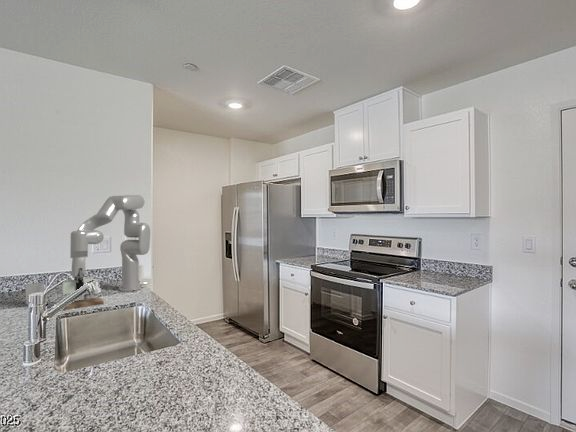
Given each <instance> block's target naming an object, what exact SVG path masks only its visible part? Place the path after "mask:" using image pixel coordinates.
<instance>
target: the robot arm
mask: <svg viewBox="0 0 576 432" xmlns="http://www.w3.org/2000/svg"><path fill="white" fill-rule="evenodd" d="M144 206H145V198H144V197H143V196H142V195H141V194H140V195H139V194H135V195H134V194H133V195H132V194H128V195H127V194H126V195H125V194H123V195H112V196H108V198H107V199H106V200H105V202H104V203H103V204H102V206H101V208H100V209H99V210H98V212H97V213H95V214H94V215H92V216H91V217H89V218H88V219H86V220H85V221H84V222H83V223H81V225H79V227H78V229H77V230H73V231H72V232H71V233H70V247H69V248H70V256H69V257H70V259H71V272H70V274H71V277H72V278H73V280H77V283H76V290H77V289H79V288H80V287H81V286H83V285H84V281H83V279H84V277H85V276H86V258H88V256H89V255H88V254H89V250H88V249H89V248H88V246H89V245H97V244H100V243H102V242H103V240H104V237H105V236H104V234H103V232H101V231H100V230H95V229H98V228H99V227H102V226H105V225H107V224H110V223H112V222H113V220H114V218H115V217H116V215H117V214H118V212H119V211H122V212H123V214H124V223H123V225H124V228H123V235H124V236H125V237H127V238H133V239H127V240H126V239H125V240H124V241H122V242H121V243H120V247H119V248H120V253H121V269H122V270H121V279H122V280H121V287H119V291H120V292H133V290H134V291H137V290H138V289H139V290H141V289H142V286H144V285H145V286H146V285H147V283H148V282H147V281H139V278H140V275H139V274H140V273H139V272H140V270H139V269H140V267H139V265H140V262H139V258H138V256H141V255H143V256H144V255H146V254H148V253H149V250H150V244H151V227H150V225H149V224H147V223H146V222H140V214H139V211H138V210H139V209H141V208H143V207H144ZM137 209H138V210H137ZM137 238H138V239H137ZM140 288H141V289H140Z"/></svg>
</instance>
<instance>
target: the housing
mask: <svg viewBox="0 0 576 432" xmlns="http://www.w3.org/2000/svg"><path fill="white" fill-rule="evenodd" d="M92 280H95V281H96V279H95V278H92V277H91V278H83V281H84V284H85V283H87V282H89V281H92ZM76 283H77V280H74V279H73V280H72V279H71V280H64V282H63V283H62V284H61V285H60V286H61V288H60V289H61V291H60V292H61V294H63V295H66V294H74V293H73V292H74V291H76Z"/></svg>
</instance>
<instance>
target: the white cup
mask: <svg viewBox="0 0 576 432" xmlns="http://www.w3.org/2000/svg"><path fill="white" fill-rule="evenodd" d="M24 287H25V303H26V305H28V295H29V294H30V293H35V292H42V291H45V283H43V282H39V283H38V282H37V283H29V284H25V286H24ZM28 306H29V305H28Z"/></svg>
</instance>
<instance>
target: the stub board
mask: <svg viewBox="0 0 576 432" xmlns="http://www.w3.org/2000/svg"><path fill="white" fill-rule="evenodd" d="M90 295H91V294H90V293H85V294H84V296H83V298H84V299H83V298H82V299H77V300H75V299H74V302H72V303H71V304H69V305H68V306H66V307H65V308H64V309H63V310H62V311H67V310H66V309H68V310H73V309H72V308H74V309H78V308H79V309H80V308H85V307H92V306H93V307H94V306H98V305H99V306H100V305H104V300H103V299H102V298H101V297H99V296H97V297H92V298H91V297H90ZM54 304H56V302H54V303H53V305H54Z"/></svg>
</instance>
